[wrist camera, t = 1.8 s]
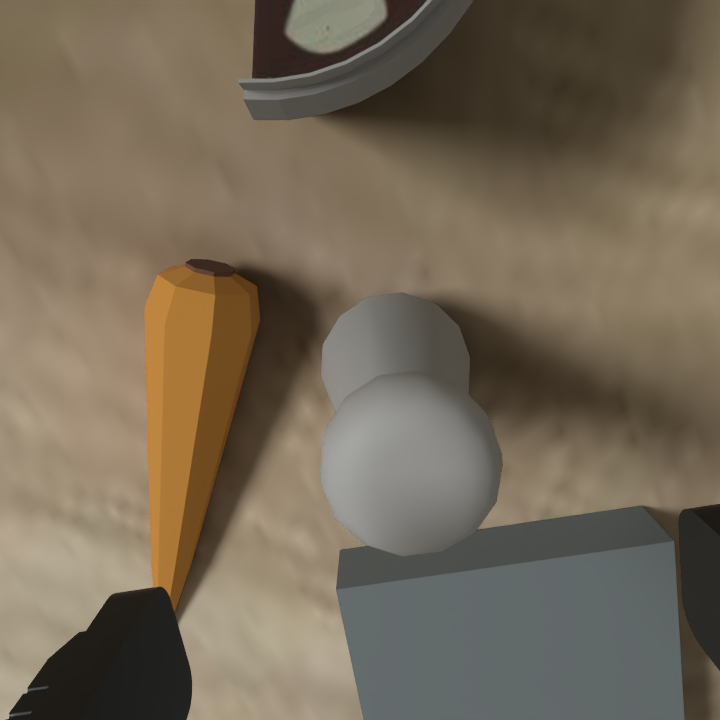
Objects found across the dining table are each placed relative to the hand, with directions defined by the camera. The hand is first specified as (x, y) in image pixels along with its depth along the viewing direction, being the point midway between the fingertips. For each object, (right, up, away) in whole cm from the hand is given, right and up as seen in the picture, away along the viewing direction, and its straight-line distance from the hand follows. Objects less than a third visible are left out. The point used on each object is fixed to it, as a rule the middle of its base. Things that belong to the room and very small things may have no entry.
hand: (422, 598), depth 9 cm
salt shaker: (0, +4, +17) cm, 17 cm away
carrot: (-9, -1, +18) cm, 21 cm away
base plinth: (+6, -11, +20) cm, 24 cm away
